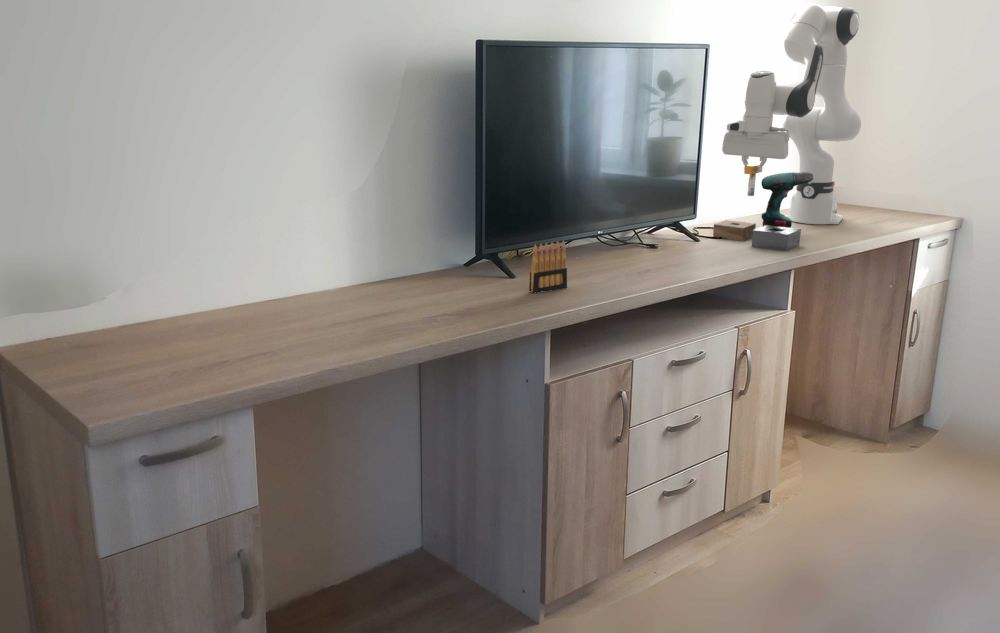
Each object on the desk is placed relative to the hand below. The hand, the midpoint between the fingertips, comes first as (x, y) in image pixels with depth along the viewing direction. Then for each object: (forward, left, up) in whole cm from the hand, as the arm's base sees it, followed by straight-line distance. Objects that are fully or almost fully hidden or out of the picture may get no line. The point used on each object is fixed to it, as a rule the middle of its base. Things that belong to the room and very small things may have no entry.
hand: (753, 171), depth 295 cm
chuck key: (0, 0, -7) cm, 7 cm away
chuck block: (+4, +11, -21) cm, 24 cm away
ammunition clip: (+94, -13, -22) cm, 97 cm away
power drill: (-18, +5, -22) cm, 29 cm away
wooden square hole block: (-2, -5, -21) cm, 22 cm away
